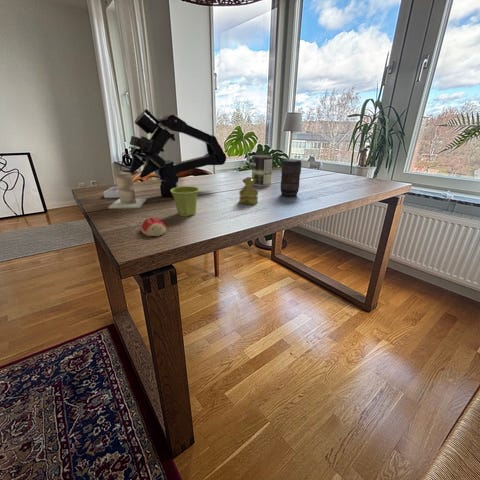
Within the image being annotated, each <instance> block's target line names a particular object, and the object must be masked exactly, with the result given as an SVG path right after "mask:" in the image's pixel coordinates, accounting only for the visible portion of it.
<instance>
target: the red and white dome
mask: <svg viewBox="0 0 480 480" xmlns="http://www.w3.org/2000/svg"><path fill="white" fill-rule="evenodd" d="M140 230H141V232H142V234H144V235H145V236H148V237H151V236H157V237H160V235H161V236H163V235H164V234H165V233H166V232H167V227H166V224H164V222H163V221H162V220H160V219H159V218H156V217H148V218H145V220H144V221H143V222H142V225H141V229H140Z"/></svg>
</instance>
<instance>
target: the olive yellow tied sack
mask: <svg viewBox="0 0 480 480" xmlns="http://www.w3.org/2000/svg"><path fill="white" fill-rule="evenodd" d="M242 182H243V183H244V185H245V186H244V187H243V188H241V189H240V190H239V193H238V194H239V203H240V204H241V205H244V206H245V205H247V206H251V205H255V204H257V203H258V201H259V200H258V199H259V197H258V195H259V191H258V190H257V189H255V187H254V185H252V184H253V183H254V182H255V179H253V178H252V176H247V177H246V178H243V179H242Z"/></svg>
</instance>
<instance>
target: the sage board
mask: <svg viewBox="0 0 480 480" xmlns="http://www.w3.org/2000/svg"><path fill="white" fill-rule="evenodd" d="M146 201H148V199H147V198H136V203H134V204H129V205H124V204H121V202H120V198H117V200H115V201H114V202H112V203H111V204H110V205H109V206H108V207H107V208H108V210H109V209H140V208H141V207H142V205H144V204H145V202H146Z"/></svg>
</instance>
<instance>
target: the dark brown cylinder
mask: <svg viewBox="0 0 480 480" xmlns="http://www.w3.org/2000/svg"><path fill="white" fill-rule="evenodd" d="M302 164H303V163H302V160H301V159H283V160H282V163H281V178H280V179H281V180H280V192H281V195H280V196H282V197H284V198H296V197H297V195H298V193H299V190H300V189H299V188H300V179H301V177H300V176H301V172H302Z"/></svg>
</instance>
